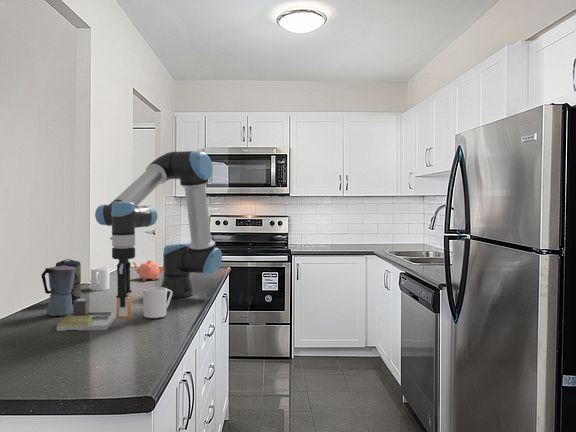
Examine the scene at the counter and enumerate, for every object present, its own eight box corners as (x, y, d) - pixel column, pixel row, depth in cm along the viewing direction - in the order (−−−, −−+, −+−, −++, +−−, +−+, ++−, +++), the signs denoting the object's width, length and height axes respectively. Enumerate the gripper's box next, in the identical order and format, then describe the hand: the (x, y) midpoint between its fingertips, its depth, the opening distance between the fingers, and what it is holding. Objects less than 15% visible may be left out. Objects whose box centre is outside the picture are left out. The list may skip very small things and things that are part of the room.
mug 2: (145, 320, 183) (145, 292, 183) (140, 315, 191) (140, 288, 190) (175, 317, 188) (175, 290, 188) (169, 312, 196) (169, 286, 195)
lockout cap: (132, 315, 178) (132, 293, 178) (130, 318, 173) (130, 296, 173) (118, 315, 177) (117, 293, 177) (115, 319, 173) (115, 297, 172)
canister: (71, 305, 204) (71, 261, 203) (50, 304, 206) (50, 260, 205) (85, 301, 213) (85, 258, 212) (65, 299, 215) (65, 257, 214)
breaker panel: (115, 317, 187) (115, 310, 187) (107, 329, 170) (107, 321, 170) (69, 318, 184) (69, 310, 184) (56, 331, 167) (56, 322, 167)
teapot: (152, 276, 277) (153, 258, 276) (167, 279, 270) (167, 260, 269) (130, 280, 265) (130, 260, 265) (145, 282, 258) (145, 263, 258)
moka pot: (84, 311, 195) (84, 259, 194) (54, 320, 180) (53, 264, 180) (64, 309, 198) (64, 258, 197) (33, 318, 184) (32, 263, 183)
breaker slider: (87, 314, 183) (87, 298, 183) (85, 317, 179) (85, 300, 179) (76, 314, 183) (76, 298, 182) (73, 317, 179) (73, 300, 178)
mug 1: (86, 292, 231) (86, 271, 230) (93, 287, 243) (93, 267, 242) (104, 292, 232) (104, 270, 231) (110, 287, 244) (110, 267, 243)
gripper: (116, 243, 182) (117, 307, 183) (107, 250, 164) (108, 321, 166) (138, 243, 183) (138, 307, 185) (131, 250, 166) (132, 320, 167)
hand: (124, 313), depth 175 cm, fingers closed on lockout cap, 5 cm apart
